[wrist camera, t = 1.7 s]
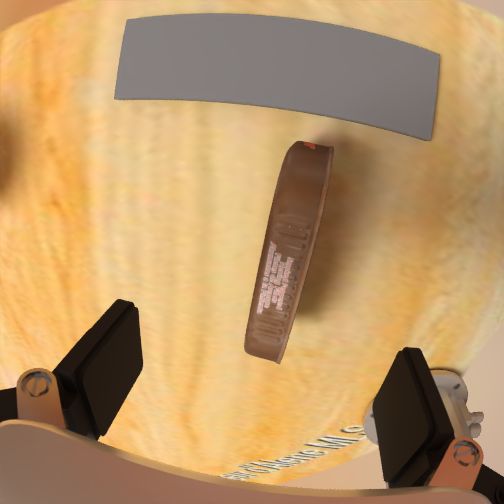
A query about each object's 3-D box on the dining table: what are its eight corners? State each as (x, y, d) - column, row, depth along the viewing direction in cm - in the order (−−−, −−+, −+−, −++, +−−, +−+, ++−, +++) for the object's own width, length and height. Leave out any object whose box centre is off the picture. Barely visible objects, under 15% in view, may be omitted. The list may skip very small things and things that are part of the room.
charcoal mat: (434, 56, 18) (439, 54, 17) (425, 140, 20) (430, 141, 19) (132, 22, 20) (126, 19, 19) (120, 99, 22) (114, 99, 21)
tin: (287, 322, 27) (281, 391, 20) (252, 314, 28) (234, 381, 20) (331, 145, 22) (350, 151, 14) (289, 136, 22) (283, 136, 14)
